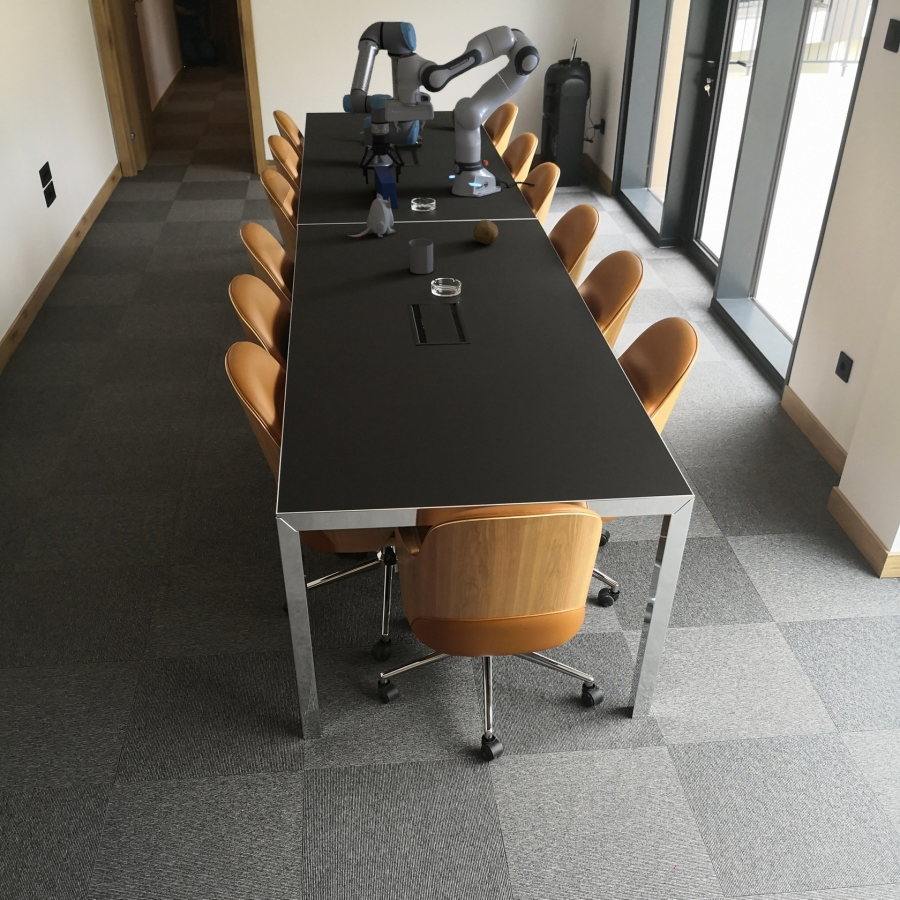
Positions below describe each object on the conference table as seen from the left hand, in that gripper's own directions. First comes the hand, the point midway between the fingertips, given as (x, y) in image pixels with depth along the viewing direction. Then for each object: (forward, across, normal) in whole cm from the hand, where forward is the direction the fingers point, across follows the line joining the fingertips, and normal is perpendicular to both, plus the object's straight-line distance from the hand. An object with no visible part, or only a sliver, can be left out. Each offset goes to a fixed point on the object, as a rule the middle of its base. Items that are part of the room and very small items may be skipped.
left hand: (382, 183), depth 386 cm
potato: (+5, +31, -73) cm, 80 cm away
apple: (+2, +58, +113) cm, 127 cm away
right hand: (-25, +10, -16) cm, 31 cm away
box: (+4, 0, -10) cm, 11 cm away
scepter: (+3, +13, +92) cm, 92 cm away
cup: (+6, +2, -97) cm, 97 cm away
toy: (+5, -12, -59) cm, 60 cm away
